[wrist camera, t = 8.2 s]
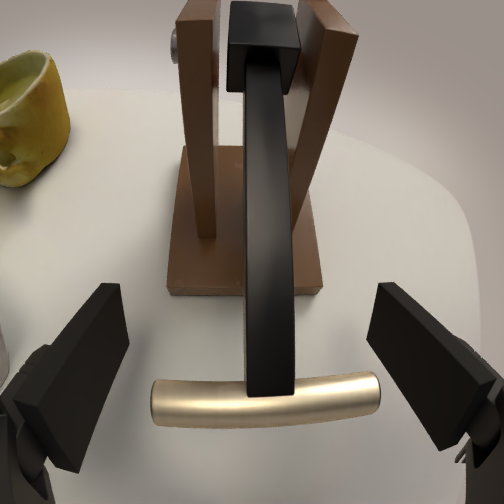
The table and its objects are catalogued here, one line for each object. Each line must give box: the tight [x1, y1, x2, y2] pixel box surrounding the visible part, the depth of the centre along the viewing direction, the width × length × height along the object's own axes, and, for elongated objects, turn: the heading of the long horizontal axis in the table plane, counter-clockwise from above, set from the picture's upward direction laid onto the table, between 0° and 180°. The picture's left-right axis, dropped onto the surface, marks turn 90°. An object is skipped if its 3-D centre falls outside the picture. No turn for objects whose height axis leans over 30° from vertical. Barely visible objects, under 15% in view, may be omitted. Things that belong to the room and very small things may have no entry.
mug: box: [0, 50, 70, 187], centre depth 16 cm, size 12×10×10 cm
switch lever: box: [150, 1, 381, 429], centre depth 8 cm, size 13×6×2 cm, turn 3°
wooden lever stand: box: [166, 0, 359, 295], centre depth 13 cm, size 10×8×13 cm
